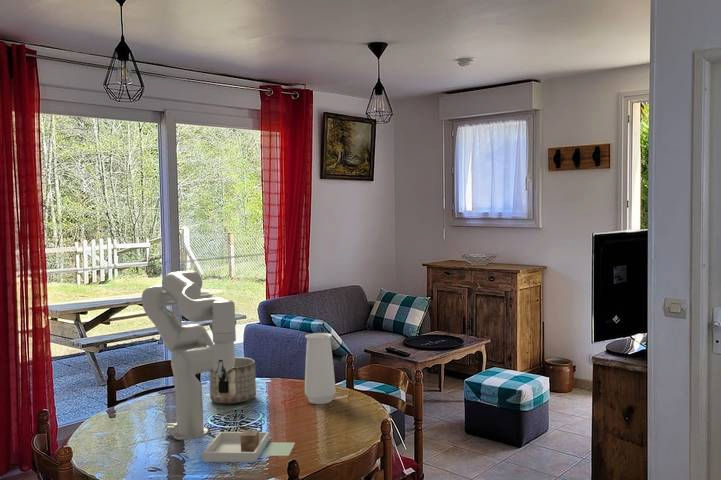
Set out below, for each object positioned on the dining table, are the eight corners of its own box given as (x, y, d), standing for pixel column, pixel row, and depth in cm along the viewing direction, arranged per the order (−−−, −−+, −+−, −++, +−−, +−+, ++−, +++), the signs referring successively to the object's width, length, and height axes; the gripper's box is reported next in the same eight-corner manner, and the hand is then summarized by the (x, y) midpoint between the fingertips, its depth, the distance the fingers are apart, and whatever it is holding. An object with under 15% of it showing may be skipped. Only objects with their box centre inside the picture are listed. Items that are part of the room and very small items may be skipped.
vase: (319, 394, 287) (317, 331, 285) (342, 399, 278) (340, 334, 277) (298, 401, 277) (296, 336, 275) (321, 407, 268) (319, 339, 267)
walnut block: (241, 453, 218) (240, 435, 218) (244, 447, 223) (244, 430, 223) (255, 453, 218) (255, 435, 217) (259, 447, 223) (258, 430, 222)
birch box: (217, 397, 218) (216, 373, 217) (221, 393, 223) (220, 369, 222) (231, 397, 217) (230, 373, 217) (235, 393, 222) (235, 369, 222)
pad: (261, 457, 216) (261, 455, 216) (269, 444, 228) (269, 442, 227) (288, 457, 215) (288, 455, 215) (295, 444, 227) (295, 442, 227)
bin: (202, 463, 212) (202, 452, 212) (220, 441, 231) (220, 431, 231) (255, 463, 210) (255, 452, 210) (269, 441, 230) (268, 431, 230)
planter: (206, 397, 286) (204, 360, 285) (249, 391, 294) (248, 355, 294) (216, 409, 269) (214, 370, 268) (261, 402, 277) (260, 364, 276)
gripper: (220, 332, 228) (222, 383, 229) (205, 342, 211) (207, 397, 212) (241, 331, 227) (243, 383, 228) (228, 342, 210) (230, 397, 211)
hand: (226, 389), depth 220 cm, fingers closed on birch box, 5 cm apart
